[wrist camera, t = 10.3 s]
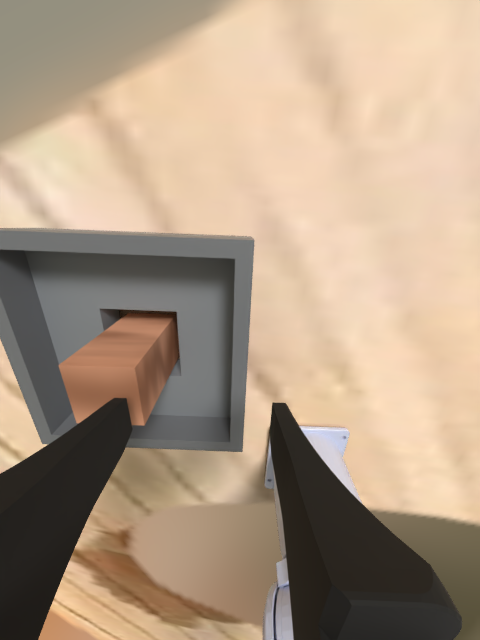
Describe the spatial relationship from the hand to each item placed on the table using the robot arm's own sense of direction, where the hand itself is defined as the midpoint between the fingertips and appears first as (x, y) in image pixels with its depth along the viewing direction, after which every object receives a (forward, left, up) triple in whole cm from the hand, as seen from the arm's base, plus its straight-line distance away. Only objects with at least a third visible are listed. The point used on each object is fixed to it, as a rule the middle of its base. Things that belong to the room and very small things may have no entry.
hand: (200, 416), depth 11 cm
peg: (0, +6, -9) cm, 11 cm away
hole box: (0, +6, -9) cm, 11 cm away
